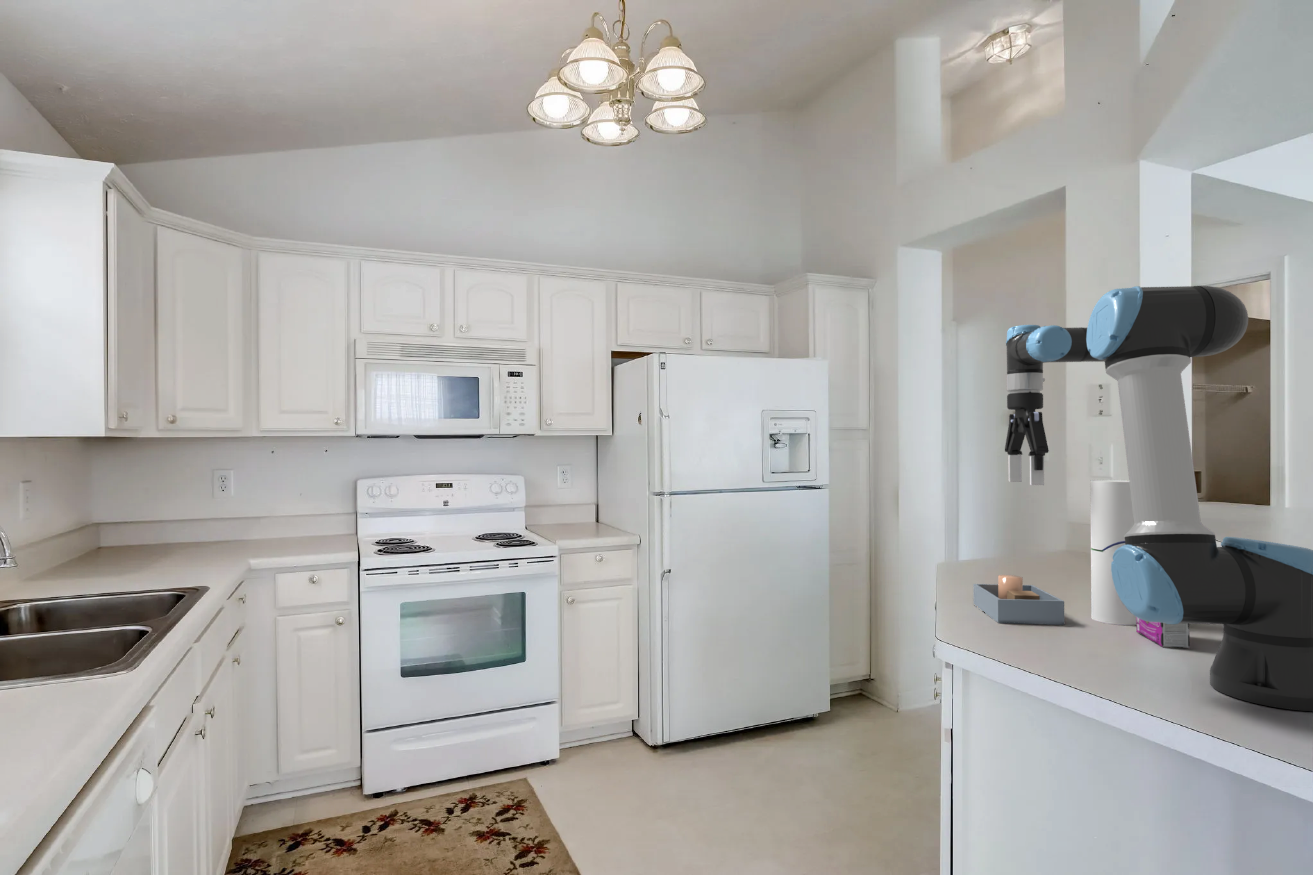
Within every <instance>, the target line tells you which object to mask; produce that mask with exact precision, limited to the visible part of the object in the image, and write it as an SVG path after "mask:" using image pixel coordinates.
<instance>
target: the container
mask: <svg viewBox="0 0 1313 875" xmlns="http://www.w3.org/2000/svg"><path fill="white" fill-rule="evenodd" d="M1089 485H1090V486H1089V487H1090V492H1089V493H1090V494H1089V496H1090V497H1089V498H1090V589H1091V591H1090V596H1091V598H1090V600H1091V602H1090V603H1091V604H1090V605H1091V607H1090V608H1091V615H1090V617H1091V619H1092V620H1093V621H1096V622H1100V623H1103V624H1108V625H1118V626H1136V616H1134V615H1133V614H1132V613H1131V612H1130V611H1129V610H1128V609H1127V608H1126V606H1125V605H1124V604H1123V603H1122V601H1121V600H1120V598H1119V596H1118V594H1117V592H1116V589H1115V586H1114V583H1113V579H1112V572H1111V563H1112V561H1113V558H1112V557H1113V554H1114V552H1115V551H1116V550H1117V549H1118V548H1119V547H1122V546H1123V545H1125V536H1124V535H1125V534H1126V533H1127V532H1128V531H1129V530H1130V529H1131V528H1132V527H1133V525H1134V517H1133V509H1132V500H1131V491H1130V483H1129V479H1128V480H1126V479H1090V484H1089Z"/></svg>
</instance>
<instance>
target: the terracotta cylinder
mask: <svg viewBox="0 0 1313 875" xmlns="http://www.w3.org/2000/svg"><path fill="white" fill-rule="evenodd" d="M997 576H998V577H997V583H998V598H999V599H1007V590H1010V591H1023V585H1024V584H1023V582H1024V581H1023V580H1024V578H1023V576H1021V575H1020V576H1019V575H1014V574H999V575H997Z"/></svg>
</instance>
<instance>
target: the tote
mask: <svg viewBox="0 0 1313 875" xmlns="http://www.w3.org/2000/svg"><path fill="white" fill-rule="evenodd" d="M972 586H973V587H972V588H973V605H974V604H975V605H976V606H978V608H980V609H981V610H982V611H984V612H985V613H986V614H987V615H986V614H985V613H984V612H983V613H984V614H985V615H986V616H988V615H989V616H990V617H989V616H988V617H989V618H991V619H992V620H993V619H994V620H993V621H995V622H996V623H997V622H998V623H997V624H1014V625H1015V624H1019V625H1020V624H1021V625H1022V624H1023V625H1027V624H1028V625H1052V626H1056V625H1057V626H1060V625H1061V626H1065V601H1064V600H1063V599H1061V598H1059V597H1057V596H1055V595H1053V594H1051V593H1049V592H1047V591H1045V590H1043V589H1041V588H1040V587H1037V586H1036V585H1033V584H1023V591H1032V592H1034V593H1036V594H1037V595H1039V596H1040V600H1023V599H999V598H998V584H997V583H973V584H972ZM976 606H975V607H976ZM978 608H977V609H978ZM980 609H979V610H980ZM981 610H980V611H981ZM982 611H981V612H982Z"/></svg>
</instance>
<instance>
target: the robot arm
mask: <svg viewBox="0 0 1313 875" xmlns="http://www.w3.org/2000/svg"><path fill="white" fill-rule="evenodd" d="M1248 326H1249V314H1248V310H1247V307H1246V305H1245V303H1244V302H1243V301H1242V300H1241V299H1240V298H1239V297H1238V296H1236V295H1235V294H1234V293H1232V292H1231V291H1229V290H1227V289H1224V288H1220V287H1217V286H1211V285H1190V286H1189V285H1188V286H1187V285H1185V286H1182V285H1181V286H1142V287H1141V286H1139V285H1136V286H1132V287H1124V288H1123V287H1122V288H1114V289H1111V290H1109V291H1108V292H1106V293H1104V294H1103V295H1102V296H1101V297H1100V298H1099V299H1098V301H1097V302H1096V304H1095V305H1094V307H1093V309H1092V311H1091V314H1090V316H1089V319H1088V323H1087V327H1063V326H1059V325H1054V324H1053V325H1052V324H1051V325H1044V326H1040V325H1039V324H1020V325H1015V326H1011V327H1009V328H1008V330H1007V331H1006V341H1005V346H1006V391H1007V392H1008V394H1007V395H1006V408H1007V409H1008V410H1009V411H1011V410H1013V411H1015V412H1014V413H1010V414H1009V415H1008V417H1009V418H1008V427H1007V434H1006V440H1005V446H1004V452H1005V453H1007V456H1008V482H1009V483H1022V479H1023V478H1022V455H1023V451H1022V446H1023V444H1024V440H1025V438H1026V441H1027V444H1028V447H1029V450H1030V451H1029V453H1028V456H1029V485H1030V486H1045V456H1046V454H1048V453H1049V452H1050V450H1049V445H1048V440H1047V436H1046V431H1045V426H1044V421H1043V412H1042V411H1036V410H1041V409H1043V408H1044V394H1043V392H1041V391H1043V390H1044V386H1043V385H1044V382H1045V380H1046V379H1045V378H1044V374H1043V373H1044V370H1043V369H1044V364H1045V363H1082V362H1083V363H1084V362H1087V363H1088V362H1090V363H1093V362H1095V363H1096V362H1097V363H1098V362H1100V363H1101V362H1102V363H1104V367H1105V373H1106V374H1107V375H1108V376H1109V377H1111V378H1112V379H1114V380H1116V382H1117V387H1118V396H1119V404H1120V406H1119V407H1120V411H1121V420H1122V431H1123V437H1124V438H1123V439H1124V445H1125V455H1126V465H1127V473H1128V480H1129V483H1130V491H1131V500H1132V509H1133V517H1134V525H1133V527H1132V528H1131V529H1130V530H1129V531H1128V532H1127V533H1126V534H1125V535H1124V536H1125V545H1123V546H1122V547H1119V548H1118V549H1117V550H1116V551H1115V552H1114V554H1113V557H1112V558H1113V561H1112V563H1111V572H1112V579H1113V583H1114V586H1115V589H1116V592H1117V594H1118V596H1119V598H1120V600H1121V601H1122V603H1123V604H1124V605H1125V606H1126V608H1127V609H1128V610H1129V611H1130V612H1131V613H1132V614H1133V615H1134V616H1136V617H1137V618H1139V619H1141V620H1144V621H1148V622H1161V623H1166V624H1178V623H1185V624H1189V625H1190V624H1191V625H1192V624H1195V625H1197V624H1199V625H1201V624H1202V625H1223V632H1222V633H1223V635H1222V640H1221V642H1220V643H1219V647H1218V649H1217V651H1216V654H1215V656H1214V659H1213V660H1212V665H1211V666H1210V668H1209V669H1210V670H1209V685H1210V687H1212V688H1213V689H1214V690H1216V691H1217V692H1220V693H1222V694H1225V695H1226V696H1229V697H1233V698H1235V699H1238V700H1242V701H1245V702H1249V703H1252V704H1253V703H1254V704H1257V705H1261V706H1267V707H1271V708H1272V707H1273V708H1279V709H1285V710H1290V711H1291V710H1292V711H1302V712H1303V711H1304V712H1313V549H1311V548H1307V547H1302V546H1298V545H1291V544H1285V543H1281V542H1280V543H1279V542H1273V541H1272V542H1271V541H1264V540H1259V539H1251V538H1245V537H1236V536H1225V537H1223V539H1222V541H1221V543H1220V546H1218V544H1217V541H1216V539H1217V538H1216V533H1215V532H1214V531H1213V530H1211V529H1209V528H1208V527H1207V526H1206V525H1204V524H1203V523H1202V520H1201V514H1200V513H1201V512H1200V506H1199V505H1200V504H1199V499H1198V498H1199V497H1198V491H1197V484H1196V483H1197V482H1196V476H1195V468H1194V461H1193V453H1192V447H1191V439H1190V438H1191V437H1190V432H1189V424H1188V417H1187V409H1186V408H1187V407H1186V403H1185V401H1186V400H1185V395H1184V386H1183V378H1182V372H1183V371H1184V370H1185V369H1186V368H1187V367H1188V366H1189V365H1190V364H1191V363H1192V358H1197V357H1207V356H1213V355H1217V354H1220V353H1222V352H1226V351H1227V350H1229V349H1230V348H1232V347H1233V346H1235V345H1236V344H1238V342H1239V341H1241V339H1242V338H1243V337H1244V335H1245V333H1246V332H1247V328H1248Z"/></svg>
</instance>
